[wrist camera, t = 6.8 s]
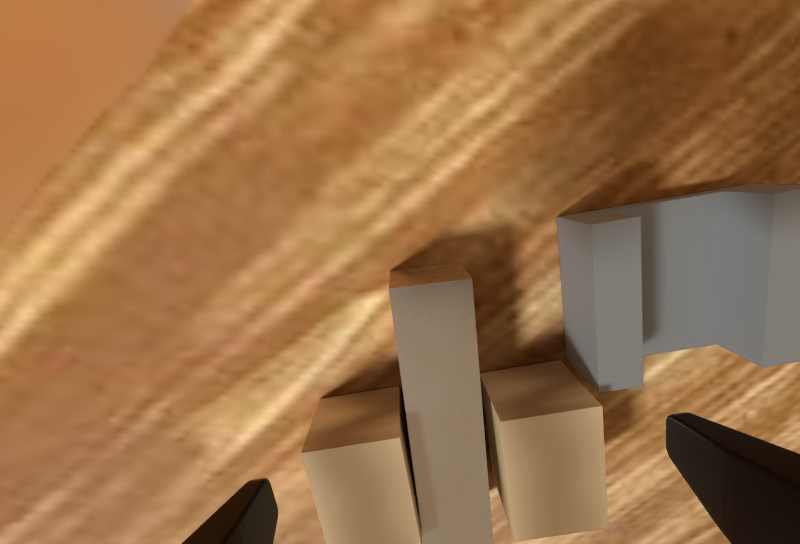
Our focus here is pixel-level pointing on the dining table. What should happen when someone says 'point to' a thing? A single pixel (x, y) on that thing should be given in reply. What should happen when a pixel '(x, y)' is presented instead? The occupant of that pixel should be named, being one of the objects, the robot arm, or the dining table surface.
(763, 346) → the v cradle
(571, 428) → the wooden blocks
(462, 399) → the bar
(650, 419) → the dining table surface
